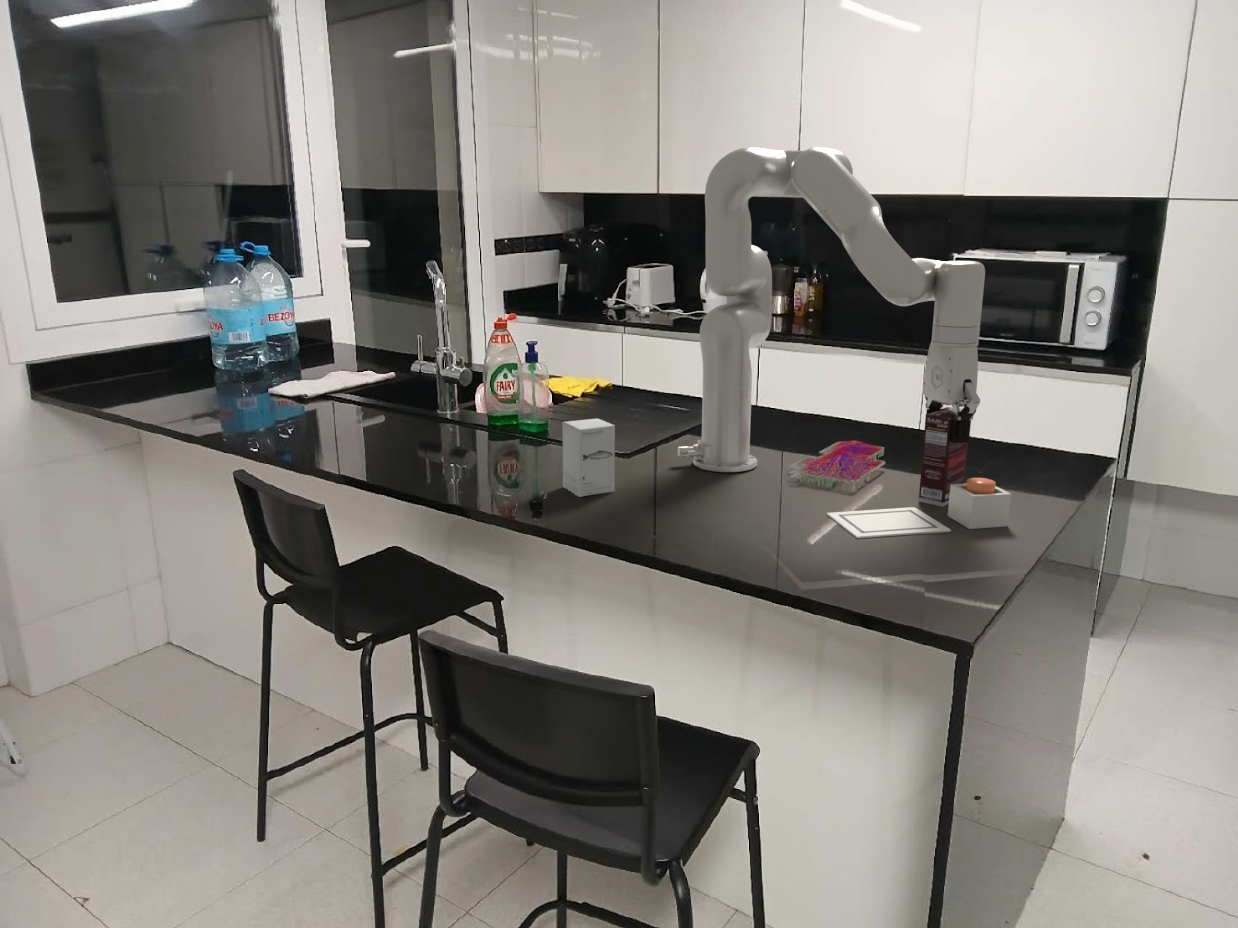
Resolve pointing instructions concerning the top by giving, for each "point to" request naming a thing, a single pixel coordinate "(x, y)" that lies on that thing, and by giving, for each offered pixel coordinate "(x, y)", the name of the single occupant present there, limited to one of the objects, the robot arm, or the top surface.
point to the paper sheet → (887, 522)
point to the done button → (980, 486)
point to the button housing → (979, 507)
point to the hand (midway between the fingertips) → (946, 436)
